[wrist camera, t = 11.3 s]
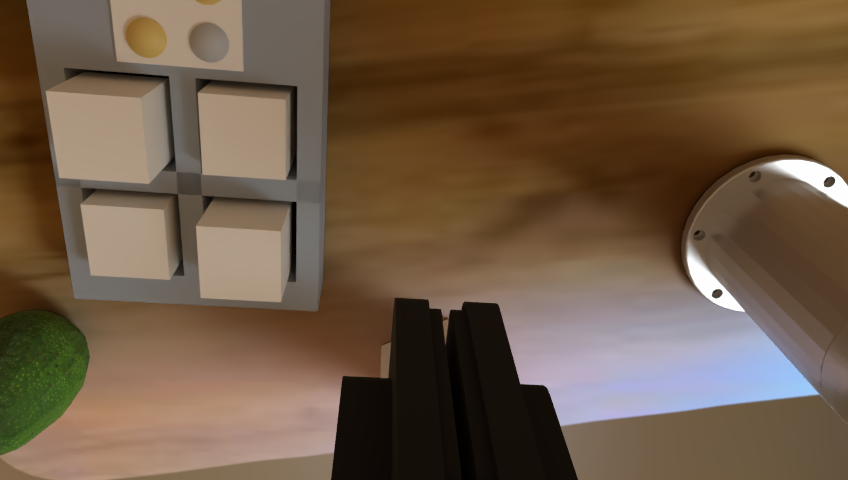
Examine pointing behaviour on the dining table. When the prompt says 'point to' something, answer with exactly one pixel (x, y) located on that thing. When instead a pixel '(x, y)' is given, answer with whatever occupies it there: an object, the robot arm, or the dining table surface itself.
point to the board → (196, 119)
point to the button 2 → (132, 233)
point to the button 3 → (247, 129)
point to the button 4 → (245, 249)
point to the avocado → (37, 373)
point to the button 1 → (111, 127)
